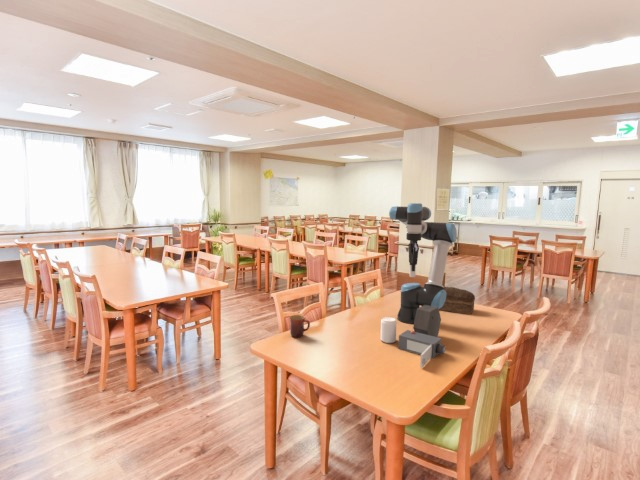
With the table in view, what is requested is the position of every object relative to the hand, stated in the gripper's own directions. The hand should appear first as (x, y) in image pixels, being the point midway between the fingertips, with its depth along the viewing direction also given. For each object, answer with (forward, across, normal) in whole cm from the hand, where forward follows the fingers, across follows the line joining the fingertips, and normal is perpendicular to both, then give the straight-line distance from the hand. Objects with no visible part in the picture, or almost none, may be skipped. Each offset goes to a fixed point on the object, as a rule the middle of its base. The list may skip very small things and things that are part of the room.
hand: (412, 276), depth 191 cm
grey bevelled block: (+35, 0, +9) cm, 36 cm away
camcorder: (+34, +16, +2) cm, 38 cm away
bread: (+35, -56, +41) cm, 78 cm away
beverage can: (+35, +3, -12) cm, 37 cm away
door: (+34, +30, 0) cm, 45 cm away
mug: (+35, -3, -60) cm, 69 cm away
